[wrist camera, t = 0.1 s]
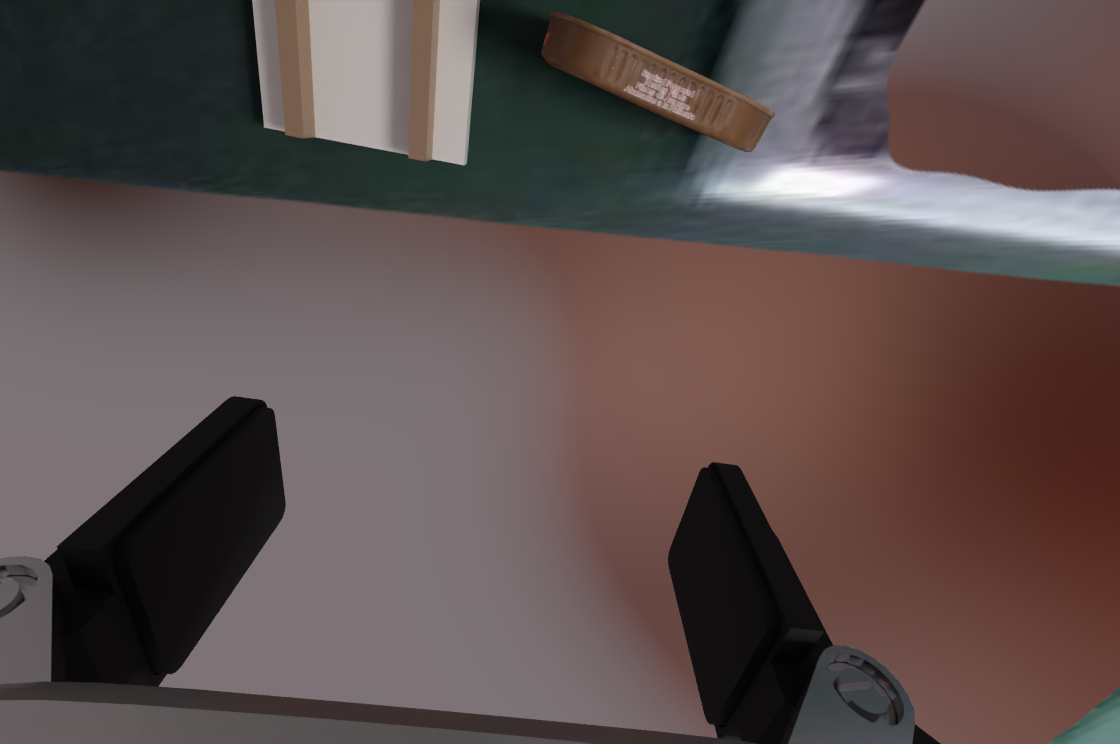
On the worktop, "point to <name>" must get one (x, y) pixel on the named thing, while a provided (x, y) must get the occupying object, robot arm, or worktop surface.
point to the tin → (654, 82)
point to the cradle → (370, 72)
